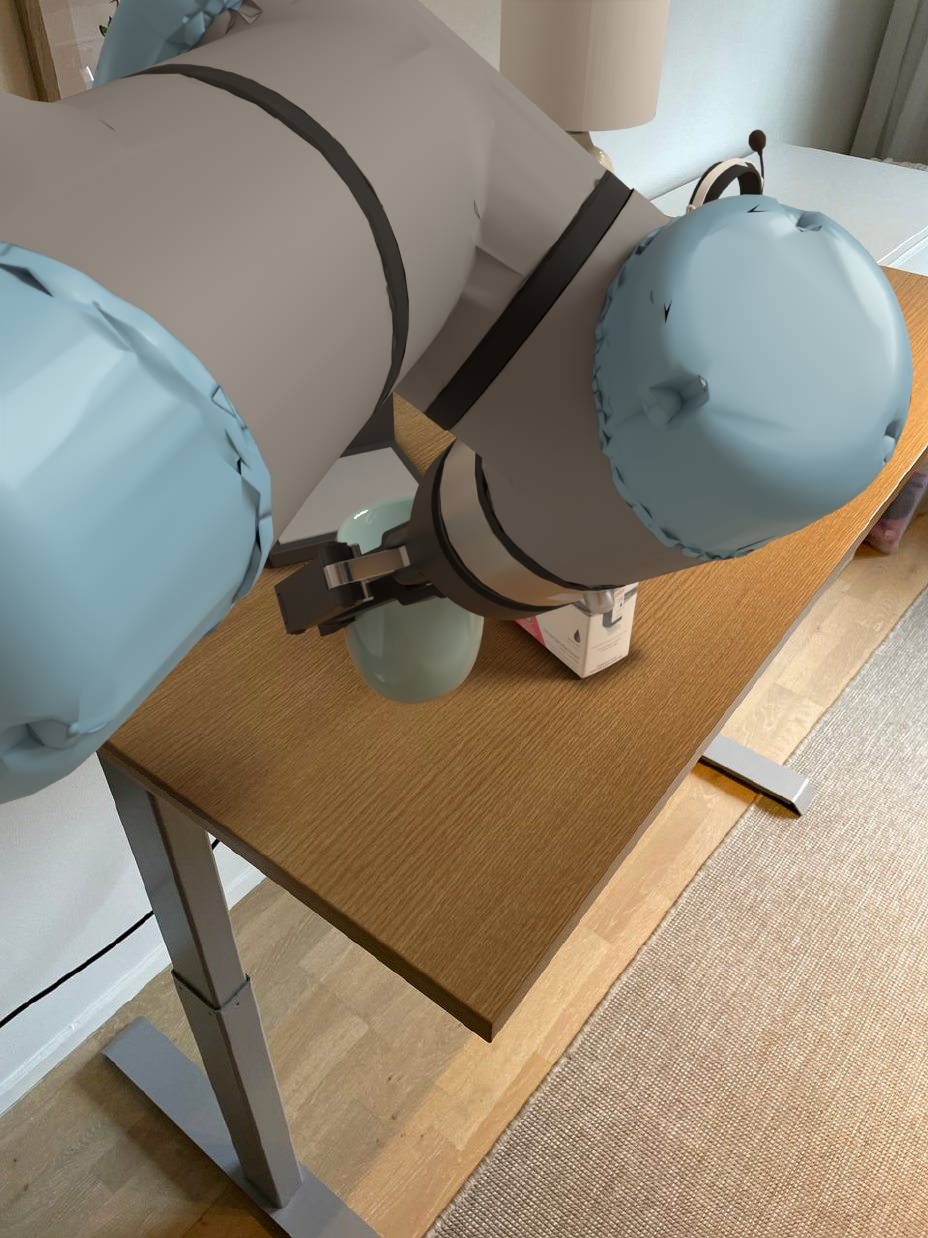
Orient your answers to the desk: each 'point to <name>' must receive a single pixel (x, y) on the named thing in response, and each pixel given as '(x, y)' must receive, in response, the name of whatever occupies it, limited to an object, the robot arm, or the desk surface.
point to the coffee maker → (349, 488)
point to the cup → (407, 626)
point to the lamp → (586, 61)
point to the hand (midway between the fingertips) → (391, 594)
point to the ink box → (587, 632)
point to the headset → (731, 176)
